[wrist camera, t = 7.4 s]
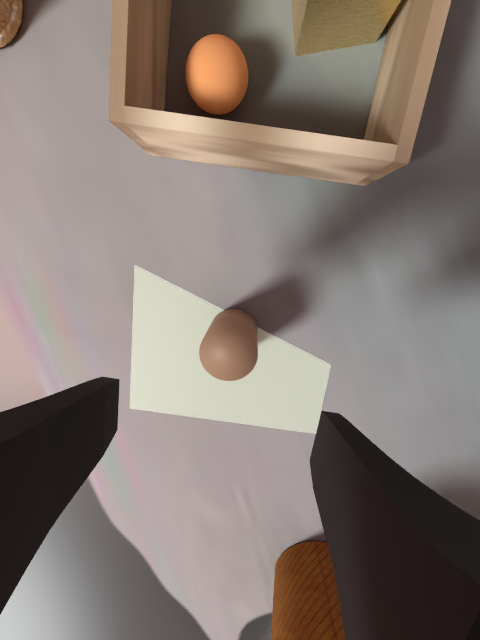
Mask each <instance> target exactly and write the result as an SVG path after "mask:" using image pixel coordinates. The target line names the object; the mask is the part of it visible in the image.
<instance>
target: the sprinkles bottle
mask: <svg viewBox="0 0 480 640" xmlns="http://www.w3.org/2000/svg"><path fill="white" fill-rule="evenodd" d="M22 10H23V3H22V0H0V47H4V46H5V45H6V44H7V43H9V42H10V41H11V40H12V39H13V38H14V37H15V35H16V33H17V31H18V28H19V26H20V24H21V21H22Z"/></svg>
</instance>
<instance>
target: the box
mask: <svg viewBox="0 0 480 640" xmlns="http://www.w3.org/2000/svg"><path fill="white" fill-rule="evenodd" d="M450 4H451V0H401V2H400V3H399V5H398V6H397V8H396V10H395V11H394V13H393V15H392V16H391V19H390V23H389V28H388V32H387V37H386V41H385V46H384V50H383V55H382V59H381V64H380V68H379V73H378V77H377V82H376V86H375V91H374V95H373V100H372V104H371V109H370V113H369V118H368V122H367V127H366V132H365V136H364V140H360V139H353V138H346V137H339V136H332V135H325V134H318V133H311V132H304V131H297V130H290V129H284V128H277V127H270V126H263V125H256V124H249V123H242V122H235V121H228V120H221V119H214V118H207V117H200V116H193V115H186V114H179V113H172V112H165V111H164V109H165V94H166V80H167V65H168V51H169V36H170V21H171V7H172V0H112V23H111V60H110V96H109V121H110V122H111V123H112V124H114V125H115V126H116V127H117V128H118V129H120V130H121V131H122V132H123V133H124V134H126V135H127V136H128V137H129V138H131V139H132V140H133V141H134V142H135V143H137V144H138V145H139V146H140V147H141V148H143V149H144V150H145V151H146V152H148V153H149V154H150V155H154V156H161V157H168V158H174V159H181V160H188V161H195V162H202V163H209V164H216V165H223V166H229V167H236V168H243V169H250V170H257V171H264V172H271V173H278V174H285V175H291V176H298V177H305V178H312V179H319V180H326V181H333V182H340V183H347V184H353V185H360V186H366V185H368V184H370V183H372V182H374V181H376V180H378V179H380V178H382V177H384V176H386V175H388V174H390V173H392V172H394V171H396V170H398V169H400V168H402V167H404V166H406V165H408V164H409V161H410V157H411V153H412V150H413V146H414V142H415V138H416V134H417V130H418V127H419V123H420V119H421V115H422V111H423V107H424V103H425V100H426V96H427V92H428V88H429V84H430V80H431V77H432V73H433V69H434V65H435V61H436V57H437V54H438V50H439V46H440V42H441V38H442V34H443V31H444V27H445V23H446V19H447V15H448V11H449V8H450Z"/></svg>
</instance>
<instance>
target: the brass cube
mask: <svg viewBox="0 0 480 640" xmlns="http://www.w3.org/2000/svg"><path fill="white" fill-rule="evenodd" d="M400 2H401V0H292V13H293V28H294V43H295V56H299V55H304V54H310V53H316V52H322V51H327V50H333V49H339V48H345V47H350V46H356V45H362V44H368V43H374V42H376V41H377V39H378V38H379V36H380V34H381V33H382V31H383V30H384V28H385V26H386V25H387V23H388V21H389V20H390V18H391V16H392V15H393V13H394V11H395V10H396V8H397V6H398V5H399V3H400Z"/></svg>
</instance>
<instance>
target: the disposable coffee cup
mask: <svg viewBox="0 0 480 640" xmlns="http://www.w3.org/2000/svg"><path fill="white" fill-rule="evenodd" d="M271 640H345V634H344V627H343V621H342V614H341V608H340V602H339V596H338V590H337V584H336V578H335V573H334V569H333V564H332V560H331V556H330V552H329V548H328V544H327V542H321V541H309V542H303V543H300V544H297V545H294V546H292V547H290V548H289V549H287V550H286V551H285V552H284V553H283V554H282V555H281V556H280V557H279V559H278V561H277V563H276V567H275V579H274V596H273V616H272V630H271Z"/></svg>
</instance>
